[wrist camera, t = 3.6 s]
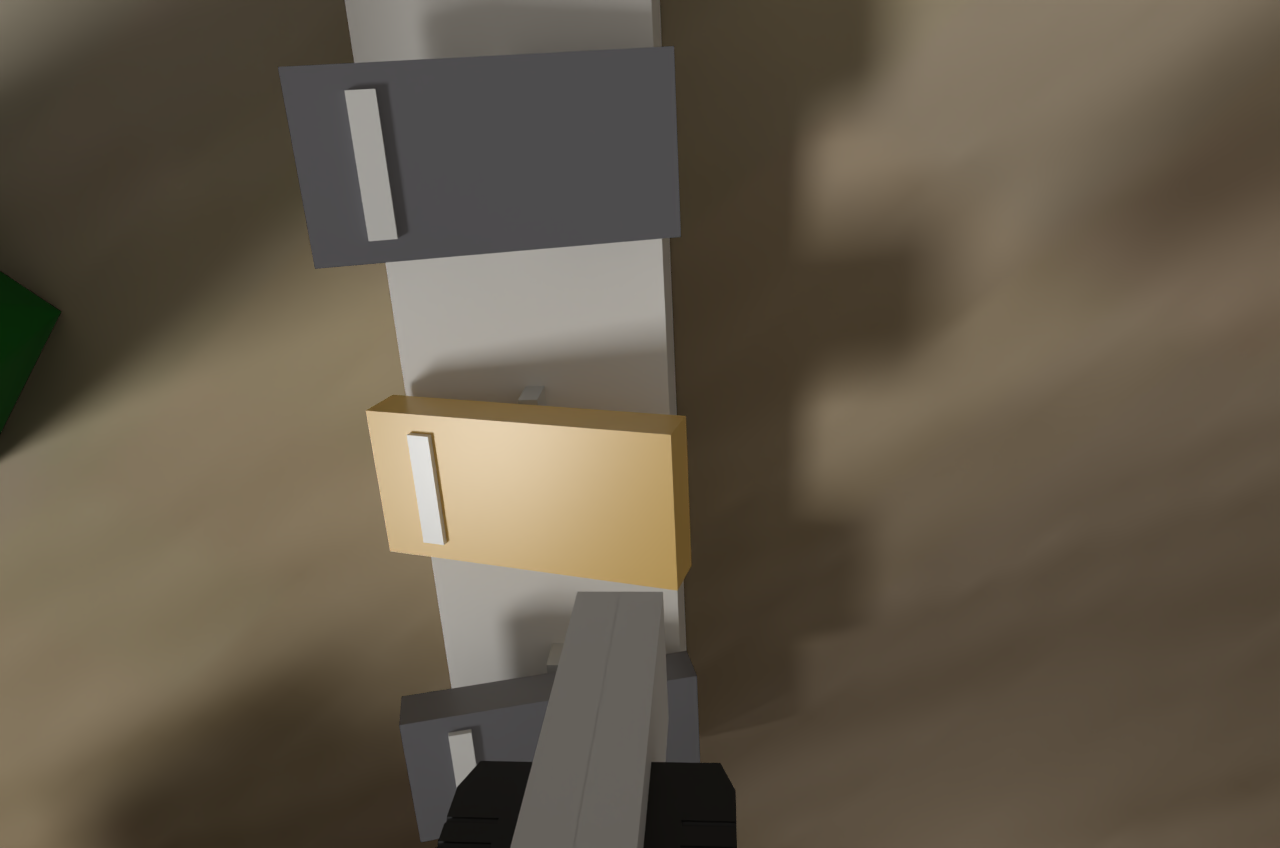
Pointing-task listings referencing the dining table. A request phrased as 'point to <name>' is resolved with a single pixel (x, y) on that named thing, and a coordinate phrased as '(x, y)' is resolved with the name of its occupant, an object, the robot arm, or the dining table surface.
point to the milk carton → (20, 338)
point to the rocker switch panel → (526, 322)
